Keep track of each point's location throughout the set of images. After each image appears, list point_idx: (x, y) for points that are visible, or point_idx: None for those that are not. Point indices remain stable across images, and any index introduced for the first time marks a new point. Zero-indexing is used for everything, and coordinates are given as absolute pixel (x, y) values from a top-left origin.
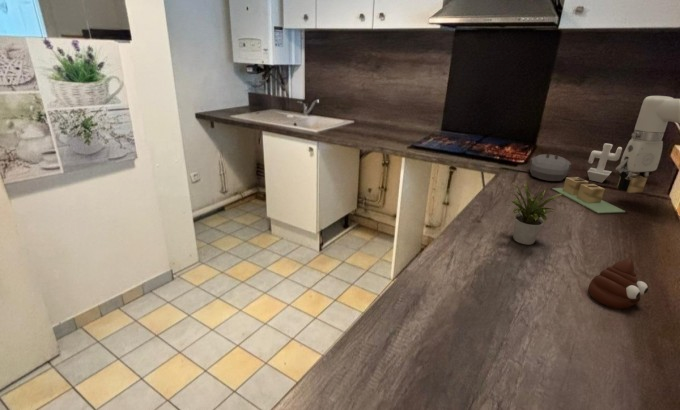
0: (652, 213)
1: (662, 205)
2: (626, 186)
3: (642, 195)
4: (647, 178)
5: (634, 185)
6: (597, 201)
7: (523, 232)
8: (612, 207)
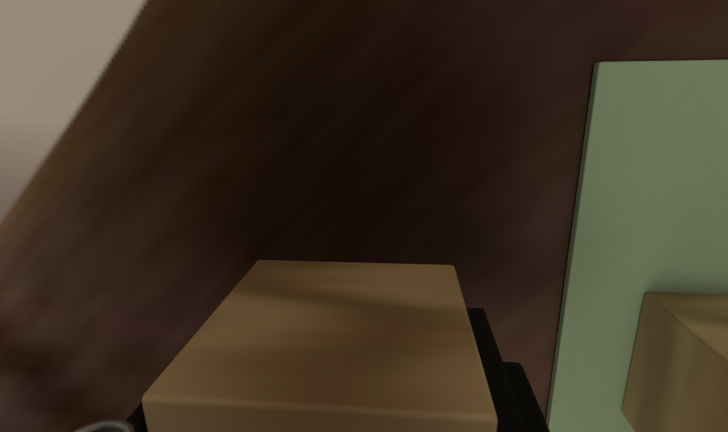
0: (322, 20)
1: (78, 185)
2: (493, 352)
3: (89, 379)
4: (91, 423)
5: (416, 317)
6: (691, 299)
7: None
8: (647, 168)
